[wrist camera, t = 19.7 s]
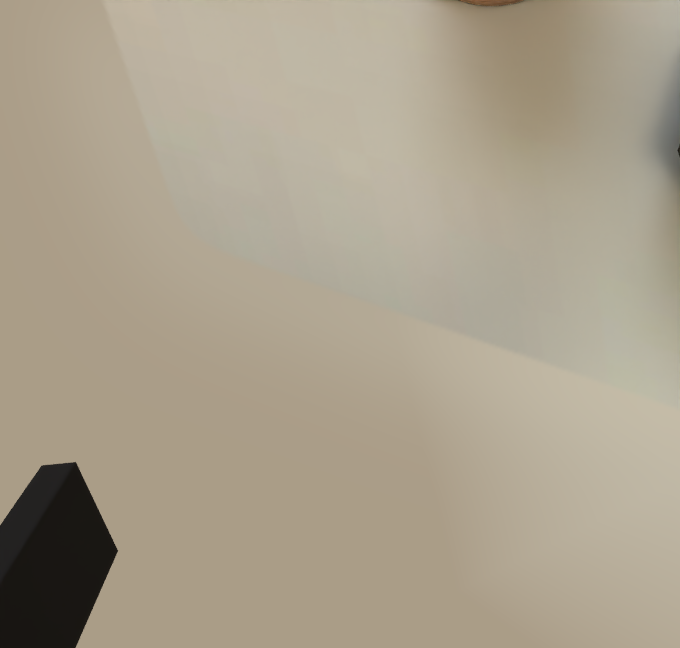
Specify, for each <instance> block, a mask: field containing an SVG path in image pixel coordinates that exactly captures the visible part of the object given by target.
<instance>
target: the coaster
mask: <svg viewBox="0 0 680 648" xmlns="http://www.w3.org/2000/svg"><path fill="white" fill-rule="evenodd" d="M460 1H463V2H467V3H470V4H475V5H483V6H501V5H507V4H514V3H517V2H521V1H524V0H460Z"/></svg>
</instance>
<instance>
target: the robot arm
mask: <svg viewBox="0 0 680 648" xmlns="http://www.w3.org/2000/svg"><path fill="white" fill-rule="evenodd" d="M117 552H118V550H117V548H116V546H115V544H114V542H113V539H112V537H111V535H110V534H109V531H108V529H107V527H106V525H105V523H104V521H103V519H102V516H101V514H100V512H99V510H98V508H97V506H96V504H95V502H94V500H93V497H92V495H91V493H90V491H89V489H88V487H87V485H86V483H85V481H84V479H83V477H82V474H81V472H80V470H79V468H78V466H77V464H76V462H73V463H63V464H53V465H43V466H41V467H40V469H39V471H38V472H37V473H36V475H35V476H34V478H33V479H32V480H31V482H30V483H29V485H28V486H27V488H26V489H25V490H24V492H23V493H22V495H21V496H20V498H19V499H18V500H17V502H16V503H15V505H14V507H13V508H12V509H11V511H10V512H9V514H8V515H7V516H6V518H5V519H4V521H3V522H2V524H1V525H0V648H75V647H76V645H77V643H78V641H79V638H80V636H81V634H82V632H83V629H84V627H85V625H86V622H87V620H88V618H89V616H90V613H91V611H92V609H93V606H94V604H95V602H96V599H97V597H98V595H99V593H100V590H101V588H102V586H103V584H104V581H105V579H106V577H107V574H108V572H109V570H110V568H111V565H112V563H113V561H114V558H115V556H116V554H117Z"/></svg>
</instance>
